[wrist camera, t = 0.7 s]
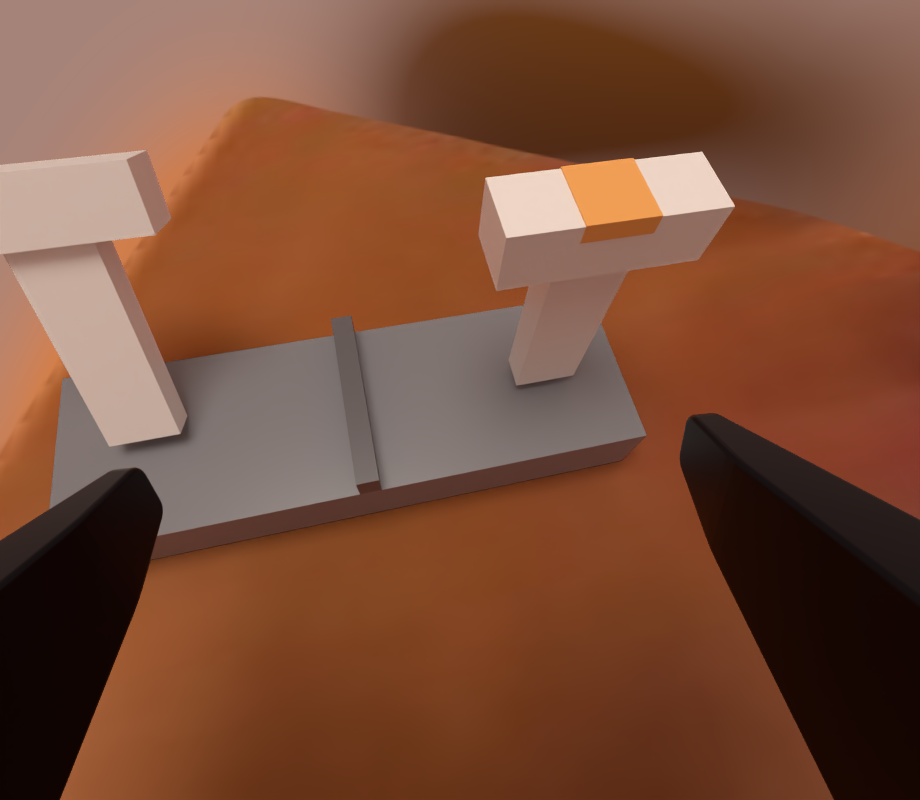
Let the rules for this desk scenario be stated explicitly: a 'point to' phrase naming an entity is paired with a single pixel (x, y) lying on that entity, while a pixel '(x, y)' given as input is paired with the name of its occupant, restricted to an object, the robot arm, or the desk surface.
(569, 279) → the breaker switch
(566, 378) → the grey ridged base plate
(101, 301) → the switch
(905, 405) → the desk surface
